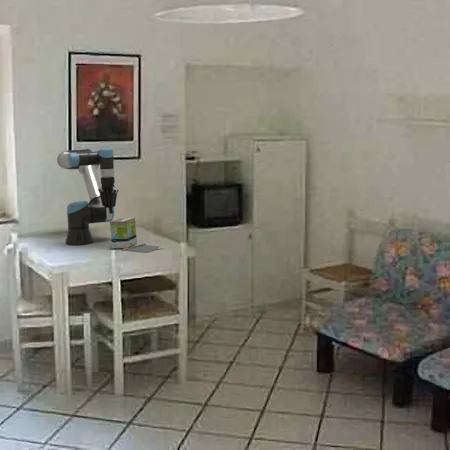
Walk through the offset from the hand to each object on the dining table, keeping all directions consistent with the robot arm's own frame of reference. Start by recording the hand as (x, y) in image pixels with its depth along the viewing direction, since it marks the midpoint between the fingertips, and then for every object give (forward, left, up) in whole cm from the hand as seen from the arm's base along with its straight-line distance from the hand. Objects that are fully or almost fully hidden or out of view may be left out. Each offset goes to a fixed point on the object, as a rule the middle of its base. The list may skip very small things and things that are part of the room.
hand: (109, 219), depth 420 cm
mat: (+25, 0, -15) cm, 29 cm away
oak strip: (+17, 0, -15) cm, 22 cm away
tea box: (+10, 0, -14) cm, 18 cm away
